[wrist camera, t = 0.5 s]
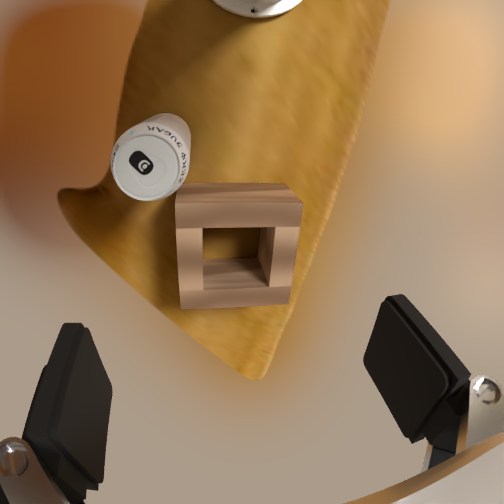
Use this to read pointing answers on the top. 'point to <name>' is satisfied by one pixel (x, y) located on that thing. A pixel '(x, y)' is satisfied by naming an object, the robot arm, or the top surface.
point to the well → (236, 269)
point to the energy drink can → (152, 157)
